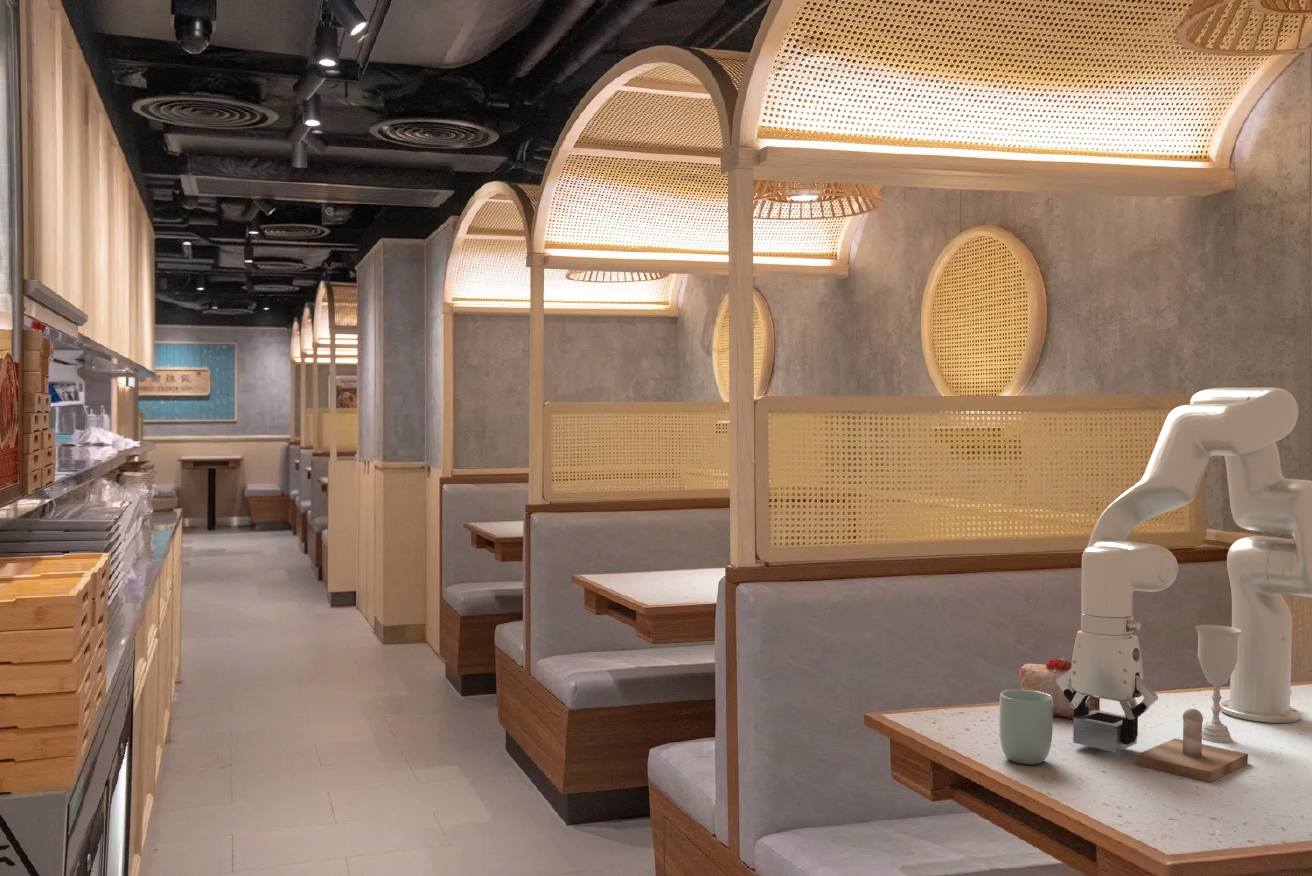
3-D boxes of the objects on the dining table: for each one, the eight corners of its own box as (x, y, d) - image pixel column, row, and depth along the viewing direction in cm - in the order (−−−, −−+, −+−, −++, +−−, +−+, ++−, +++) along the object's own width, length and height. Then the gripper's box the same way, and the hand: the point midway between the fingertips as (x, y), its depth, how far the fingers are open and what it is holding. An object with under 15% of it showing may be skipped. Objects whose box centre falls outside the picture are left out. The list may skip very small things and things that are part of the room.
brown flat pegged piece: (1174, 747, 185) (1176, 695, 185) (1247, 763, 177) (1249, 708, 177) (1135, 764, 176) (1136, 709, 176) (1210, 782, 168) (1211, 724, 168)
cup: (996, 764, 175) (997, 698, 175) (1000, 751, 182) (1002, 687, 182) (1050, 771, 172) (1052, 703, 172) (1053, 757, 179) (1054, 692, 179)
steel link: (1094, 734, 189) (1094, 709, 189) (1136, 743, 184) (1137, 718, 184) (1073, 742, 184) (1073, 717, 184) (1116, 752, 179) (1116, 726, 179)
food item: (1013, 713, 206) (1014, 657, 206) (1025, 704, 213) (1026, 650, 213) (1094, 725, 199) (1095, 667, 199) (1103, 715, 206) (1104, 659, 206)
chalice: (1244, 745, 187) (1247, 633, 187) (1199, 742, 189) (1201, 631, 188) (1231, 733, 194) (1234, 626, 194) (1187, 730, 196) (1190, 623, 195)
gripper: (1172, 630, 180) (1170, 744, 180) (1066, 615, 192) (1064, 722, 193) (1150, 636, 174) (1149, 754, 175) (1043, 620, 187) (1042, 731, 188)
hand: (1105, 736), depth 184 cm, fingers closed on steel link, 7 cm apart
